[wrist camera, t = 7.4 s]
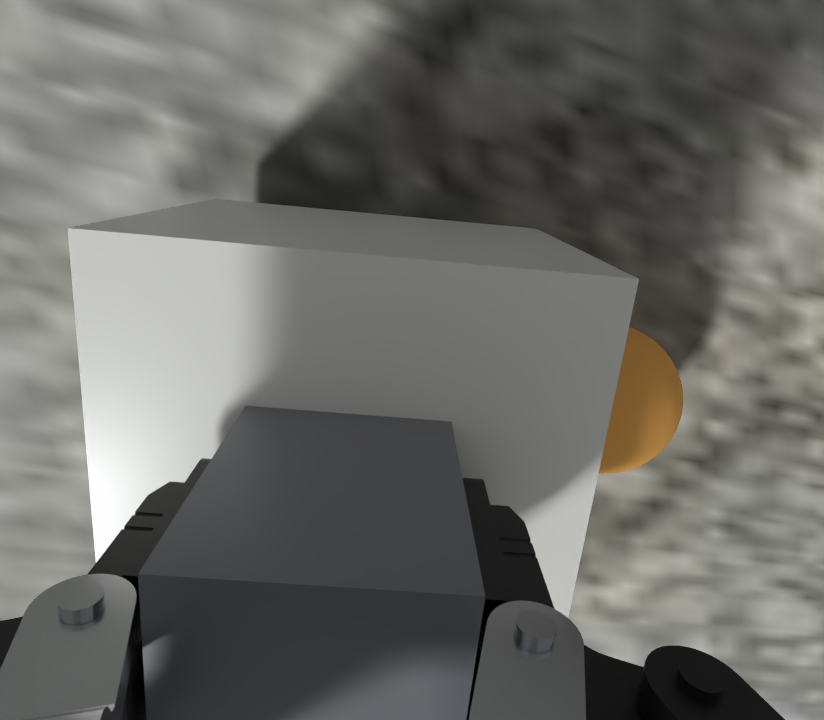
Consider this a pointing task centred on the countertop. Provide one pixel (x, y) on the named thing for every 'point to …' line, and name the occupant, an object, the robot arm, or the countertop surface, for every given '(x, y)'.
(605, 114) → the countertop surface
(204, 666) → the white square block
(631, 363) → the ball
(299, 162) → the countertop surface
